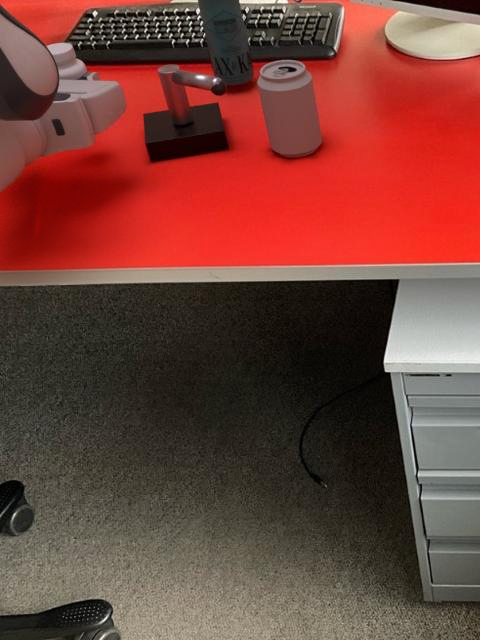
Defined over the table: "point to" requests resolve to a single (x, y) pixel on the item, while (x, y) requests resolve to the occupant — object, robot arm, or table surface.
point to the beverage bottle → (227, 40)
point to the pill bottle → (67, 61)
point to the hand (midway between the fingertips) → (71, 76)
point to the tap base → (185, 133)
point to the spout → (176, 93)
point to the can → (289, 108)
